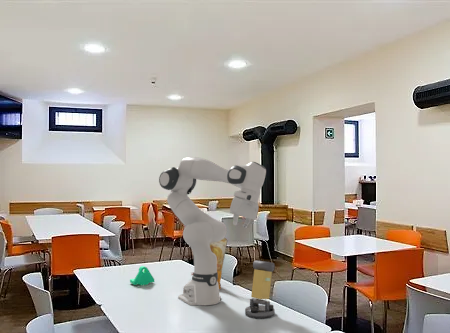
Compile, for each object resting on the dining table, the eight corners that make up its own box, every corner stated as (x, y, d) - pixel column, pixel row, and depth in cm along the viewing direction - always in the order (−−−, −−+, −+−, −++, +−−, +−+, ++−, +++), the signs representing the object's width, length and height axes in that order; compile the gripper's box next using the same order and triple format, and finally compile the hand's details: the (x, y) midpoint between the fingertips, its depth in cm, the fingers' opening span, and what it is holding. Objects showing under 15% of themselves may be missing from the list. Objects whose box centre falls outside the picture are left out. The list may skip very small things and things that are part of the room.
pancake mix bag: (209, 282, 247) (209, 233, 248) (228, 289, 232) (228, 237, 232) (199, 283, 244) (200, 234, 244) (218, 290, 228) (218, 238, 229)
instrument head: (246, 302, 189) (251, 259, 192) (255, 302, 194) (259, 260, 198) (264, 305, 183) (268, 262, 187) (272, 305, 189) (276, 263, 192)
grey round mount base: (239, 314, 188) (239, 301, 188) (255, 307, 198) (255, 294, 198) (264, 320, 180) (264, 306, 180) (280, 313, 190) (280, 299, 190)
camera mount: (149, 281, 250) (149, 263, 250) (154, 283, 244) (154, 265, 244) (129, 283, 244) (129, 265, 244) (134, 286, 237) (134, 268, 237)
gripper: (252, 199, 204) (244, 227, 203) (232, 191, 187) (222, 221, 185) (264, 202, 200) (255, 231, 199) (244, 194, 183) (234, 225, 182)
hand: (239, 226), depth 192 cm, fingers open, 8 cm apart
